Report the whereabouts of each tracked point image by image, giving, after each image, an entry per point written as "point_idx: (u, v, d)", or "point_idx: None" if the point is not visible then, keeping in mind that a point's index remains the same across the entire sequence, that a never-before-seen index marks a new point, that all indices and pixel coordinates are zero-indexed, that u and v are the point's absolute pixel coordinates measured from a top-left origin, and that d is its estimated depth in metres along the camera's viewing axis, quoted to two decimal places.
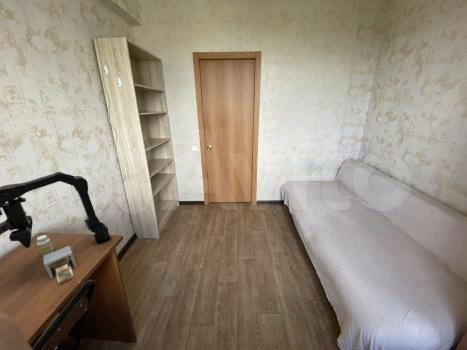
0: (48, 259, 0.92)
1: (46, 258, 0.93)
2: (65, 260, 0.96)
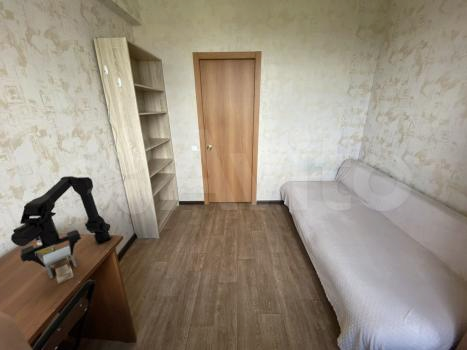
0: (48, 259, 0.92)
1: (46, 258, 0.93)
2: (65, 260, 0.96)
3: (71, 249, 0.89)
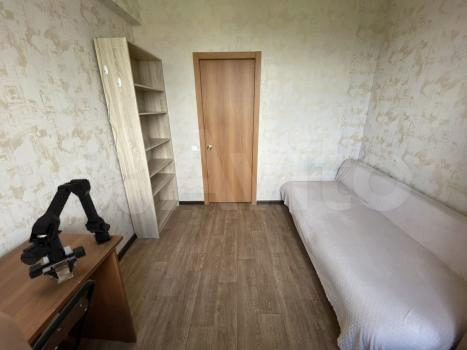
0: None
1: (46, 258, 0.93)
2: (65, 260, 0.96)
3: (70, 268, 0.90)
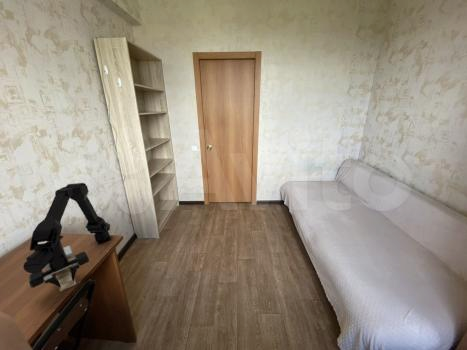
0: None
1: None
2: None
3: (73, 275, 0.86)
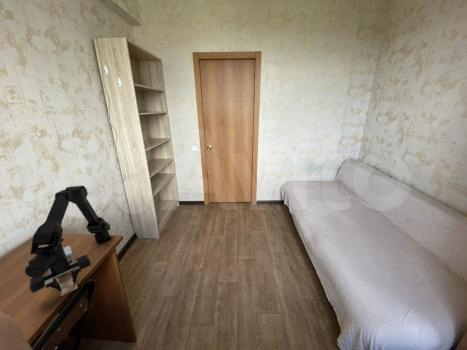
0: None
1: None
2: None
3: (74, 279, 0.84)
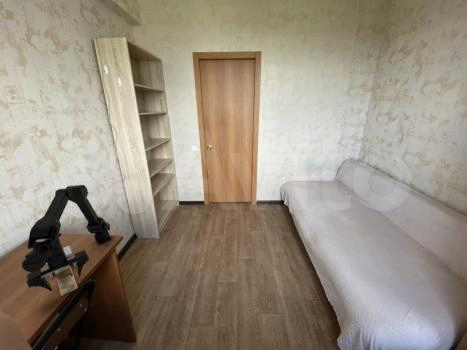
0: None
1: None
2: (68, 270, 0.90)
3: (79, 271, 0.84)
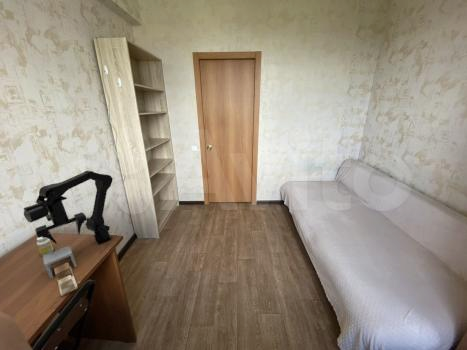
0: (48, 259, 0.92)
1: (46, 258, 0.93)
2: (68, 270, 0.90)
3: (78, 229, 1.02)
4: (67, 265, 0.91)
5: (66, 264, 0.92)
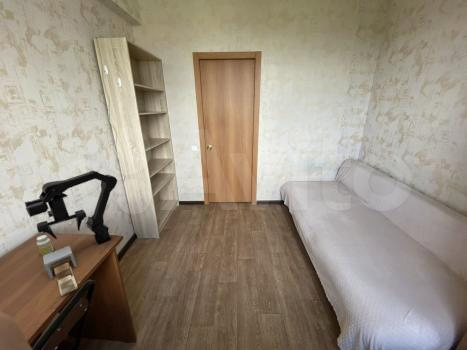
0: (48, 259, 0.92)
1: (46, 258, 0.93)
2: (68, 270, 0.90)
3: (78, 225, 1.04)
4: (67, 265, 0.91)
5: (66, 264, 0.92)
